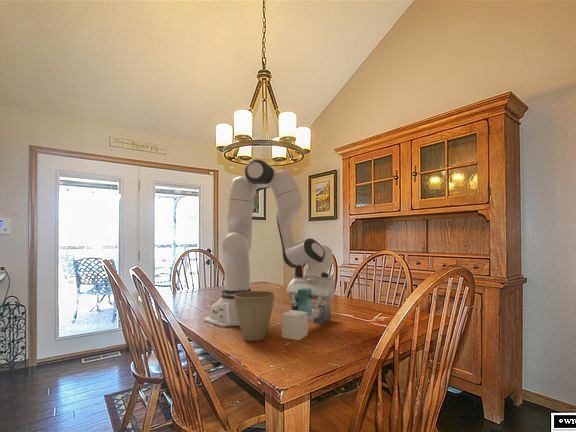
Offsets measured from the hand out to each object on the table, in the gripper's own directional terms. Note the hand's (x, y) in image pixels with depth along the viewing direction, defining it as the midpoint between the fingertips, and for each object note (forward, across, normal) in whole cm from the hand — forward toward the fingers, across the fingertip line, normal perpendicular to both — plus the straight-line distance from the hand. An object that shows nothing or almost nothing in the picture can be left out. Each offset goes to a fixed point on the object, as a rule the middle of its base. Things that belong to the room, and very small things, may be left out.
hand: (303, 306), depth 125 cm
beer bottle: (-13, -18, +26) cm, 35 cm away
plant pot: (+18, -12, -5) cm, 22 cm away
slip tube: (+3, 0, +6) cm, 6 cm away
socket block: (+12, 0, +2) cm, 12 cm away
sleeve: (-5, 0, +18) cm, 19 cm away
